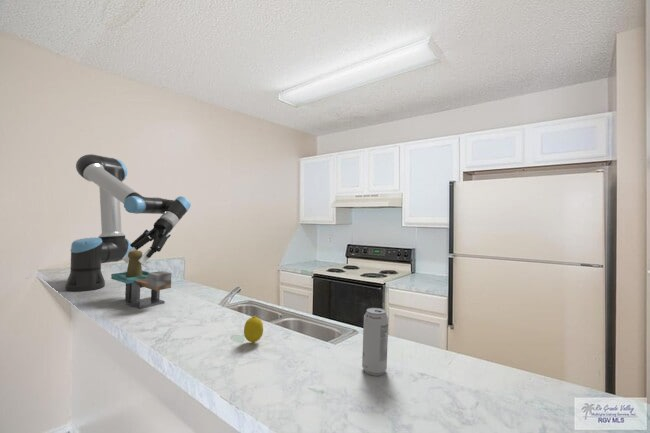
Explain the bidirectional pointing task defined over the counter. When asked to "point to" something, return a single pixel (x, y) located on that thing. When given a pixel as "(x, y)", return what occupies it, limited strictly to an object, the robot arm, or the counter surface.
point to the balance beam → (147, 279)
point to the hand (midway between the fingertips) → (132, 261)
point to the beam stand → (134, 297)
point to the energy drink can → (375, 341)
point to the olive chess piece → (134, 264)
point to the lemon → (253, 329)
